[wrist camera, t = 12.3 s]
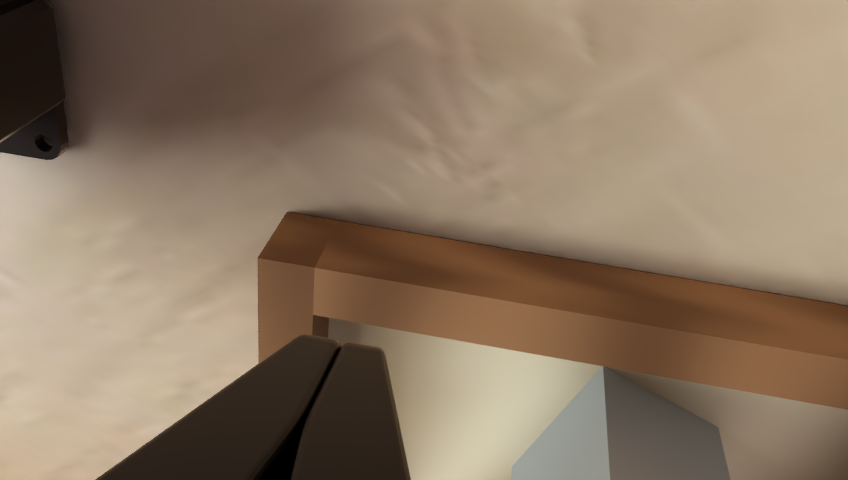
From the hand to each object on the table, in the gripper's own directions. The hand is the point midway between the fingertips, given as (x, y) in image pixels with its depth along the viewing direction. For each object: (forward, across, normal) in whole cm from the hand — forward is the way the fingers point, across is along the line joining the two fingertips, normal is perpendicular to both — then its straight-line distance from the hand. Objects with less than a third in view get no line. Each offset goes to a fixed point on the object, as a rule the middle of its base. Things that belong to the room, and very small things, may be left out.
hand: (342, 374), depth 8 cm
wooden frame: (+13, -5, +12) cm, 18 cm away
